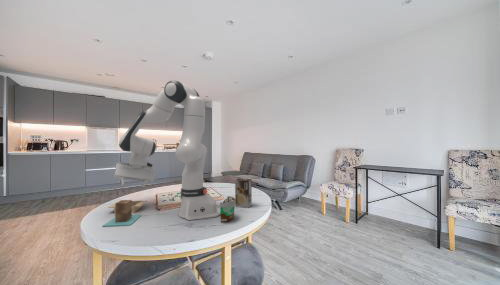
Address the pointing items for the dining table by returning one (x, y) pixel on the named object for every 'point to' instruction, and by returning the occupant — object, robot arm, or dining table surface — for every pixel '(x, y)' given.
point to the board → (128, 223)
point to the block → (123, 210)
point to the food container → (227, 209)
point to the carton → (135, 205)
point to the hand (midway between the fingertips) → (133, 186)
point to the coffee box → (243, 192)
